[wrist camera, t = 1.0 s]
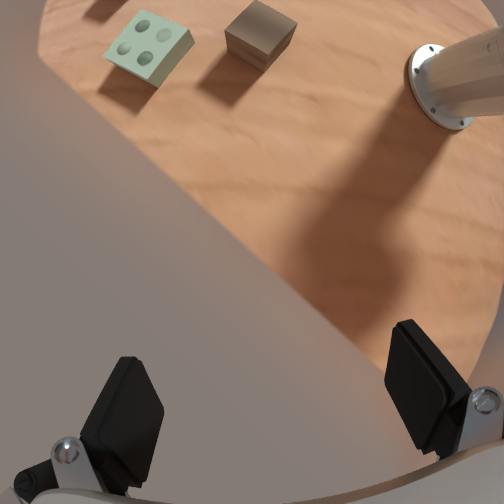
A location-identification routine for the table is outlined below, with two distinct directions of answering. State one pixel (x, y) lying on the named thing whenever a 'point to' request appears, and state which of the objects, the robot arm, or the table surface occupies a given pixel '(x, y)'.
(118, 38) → the base brick
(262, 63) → the walnut block
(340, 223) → the table surface
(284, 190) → the table surface
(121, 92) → the table surface
